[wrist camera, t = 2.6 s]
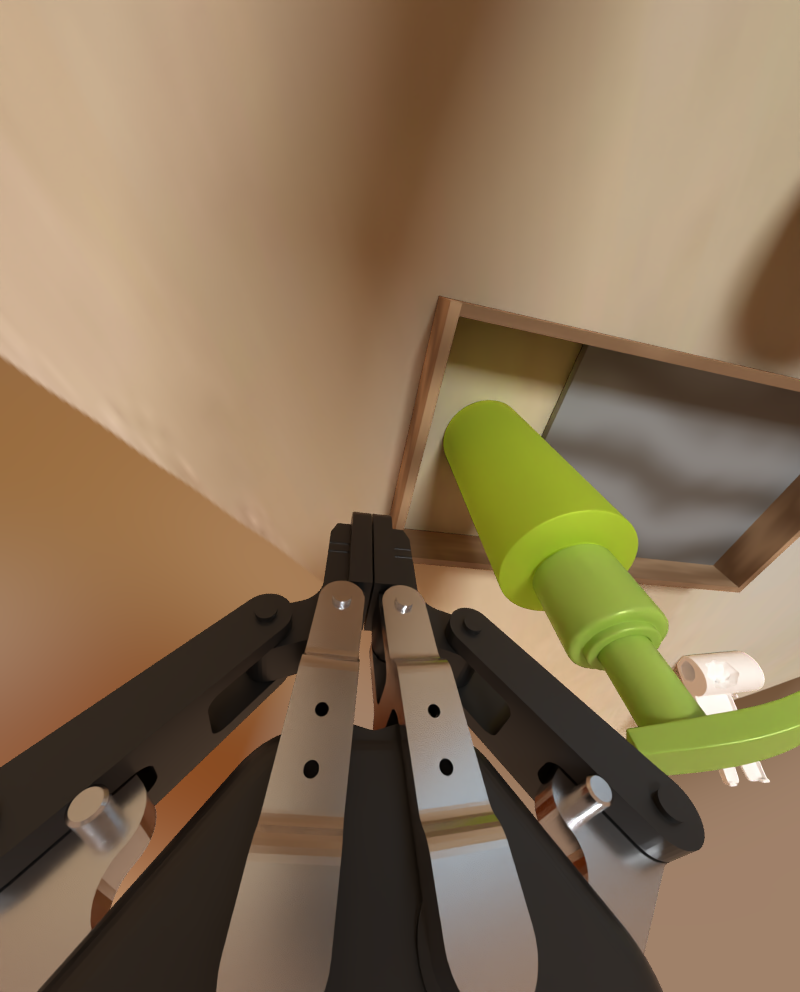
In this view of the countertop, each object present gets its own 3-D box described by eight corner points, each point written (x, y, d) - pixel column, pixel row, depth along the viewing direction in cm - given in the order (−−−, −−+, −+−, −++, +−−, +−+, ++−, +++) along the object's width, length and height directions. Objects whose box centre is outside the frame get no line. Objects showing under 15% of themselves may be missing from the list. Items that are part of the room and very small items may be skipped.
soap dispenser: (540, 453, 26) (834, 767, 10) (455, 483, 27) (589, 816, 11) (528, 381, 23) (937, 665, 7) (432, 418, 24) (575, 749, 7)
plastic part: (740, 645, 45) (842, 747, 35) (705, 685, 50) (786, 783, 41) (685, 650, 45) (773, 755, 35) (656, 690, 50) (726, 790, 40)
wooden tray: (438, 295, 20) (450, 300, 17) (870, 395, 26) (934, 411, 23) (385, 531, 29) (387, 560, 27) (708, 565, 35) (739, 592, 32)
